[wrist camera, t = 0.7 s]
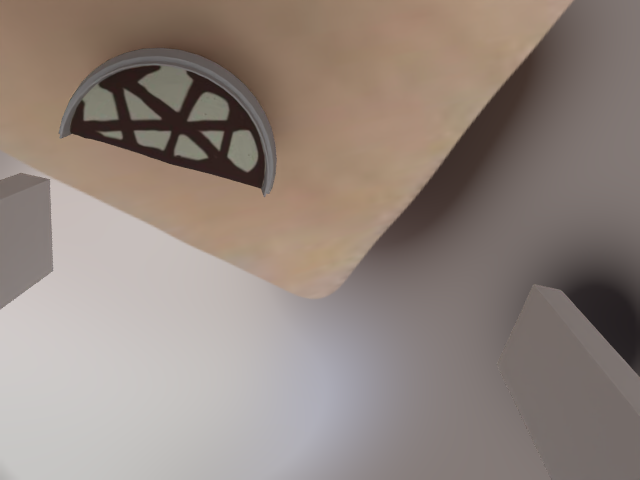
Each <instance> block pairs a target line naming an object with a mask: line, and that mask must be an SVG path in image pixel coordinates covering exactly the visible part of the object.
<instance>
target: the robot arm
mask: <svg viewBox="0 0 640 480" xmlns="http://www.w3.org/2000/svg"><path fill="white" fill-rule="evenodd" d="M52 257H53V256H52V231H51V203H50V179H46V178H41V177H36V176H32V175H27V174H23V173H19V174H17V175H14V176H11V177H8V178H5V179H3V180H0V309H1V308H3V307H4V306H6V305H7V304H8V303H10V302H11V301H12V300H14V299H15V298H16V297H18V296H19V295H20V294H22V293H23V292H25V291H26V290H28V289H29V288H30V287H32V286H33V285H34V284H36V283H37V282H39V281H40V280H41V279H43V278H44V277H45V276H47V275H48V274H49V273H51V272H52V271H53V258H52ZM497 367H498V369H499V371H500V373H501V375H502V377H503V379H504V381H505V383H506V385H507V387H508V390H509V391H510V394H511V396H512V398H513V400H514V402H515V405H516V407H517V409H518V411H519V413H520V415H521V417H522V419H523V421H524V423H525V426H526V428H527V429H528V432H529V434H530V436H531V438H532V440H533V442H534V445H535V447H536V449H537V451H538V453H539V455H540V457H541V459H542V461H543V463H544V466H545V467H546V470H547V472H548V474H549V476H550V478H551V480H640V377H639V376H638V375H637V374H636V373H635V372H634V371H633V370H632V368H631V367H630V366H629V365H628V364H627V363H626V362H625V361H624V360H623V358H622V357H621V356H620V355H619V354H618V353H617V352H616V351H615V350H614V348H613V347H612V346H611V345H610V344H609V343H608V342H607V341H606V340H605V338H604V337H603V336H602V335H601V334H600V333H599V332H598V331H597V330H596V328H595V327H594V326H593V325H592V324H591V323H590V322H589V321H588V320H587V318H586V317H585V316H584V315H583V314H582V313H581V312H580V311H579V310H578V309H577V307H576V306H575V305H574V304H573V303H572V302H571V301H570V300H569V298H568V297H567V296H566V295H565V294H564V293H563V292H562V291H561V290H558V289H553V288H549V287H544V286H540V285H535V284H534V285H533V287H532V289H531V291H530V293H529V296H528V298H527V300H526V302H525V304H524V306H523V308H522V311H521V313H520V315H519V317H518V319H517V322H516V324H515V326H514V328H513V330H512V332H511V335H510V337H509V339H508V341H507V343H506V345H505V348H504V350H503V352H502V354H501V356H500V359H499V361H498V363H497Z"/></svg>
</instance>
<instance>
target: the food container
mask: <svg viewBox="0 0 640 480" xmlns="http://www.w3.org/2000/svg"><path fill="white" fill-rule="evenodd" d="M59 134H60V138H63V137H66V136H68V135H70V134H75V135H79V136H81V137H84V138H88V139H93V140H97V141H101V142H104V143H108V144H111V145H114V146H118V147H121V148H124V149H127V150H130V151H134V152H137V153H140V154H143V155H146V156H148V157H151V158H154V159H157V160H160V161H163V162H166V163H169V164H173V165H177V166H181V167H185V168H189V169H193V170H197V171H201V172H205V173H209V174H213V175H216V176H220V177H223V178H227V179H230V180H234V181H237V182H241V183H244V184H248V185H251V186H255V187H258V188H261V190H262V193H263V196H264V197H265V196H266V194H269V193H270V191H271V189H272V187H273V183H274V178H275V174H276V161H277V158H276V146H275V141H274V137H273V132H272V128H271V126H270V124H269V121H268V119H267V116H266V114H265V112H264V110H263V109H262V107H261V106H260V104H259V102H258V101H257V99H256V98H255V96H254V95H253V94H252V93H251V92H250V90H249V89H248V88H247V87H246V86H245V85H244V84H243V83H242V82H241V81H240V80H239V79H238V78H236V77H235V76H234V75H233V74H232V73H231V72H229V71H228V70H226V69H225V68H223V67H221V66H220V65H218V64H217V63H215V62H213V61H211V60H209V59H206V58H204V57H202V56H200V55H197V54H193V53H190V52H186V51H182V50H177V49H168V48H149V49H140V50H136V51H131V52H127V53H124V54H121V55H119V56H117V57H114V58H112V59H110V60H108V61H106V62H105V63H103V64H102V65H100V66H99V67H97V68H96V69H95V70H93V71H92V72H91V73H90V74H89V75H88V76H87V77H86V78H85V79H84V80H83V81H82V83H81V84H80V86H79V87H78V89H77V90H76V92H75V93H74V95H73V96H72V98H71V100H70V102H69V104H68V106H67V108H66V111H65V113H64V115H63V118H62V121H61V126H60V130H59Z"/></svg>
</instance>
